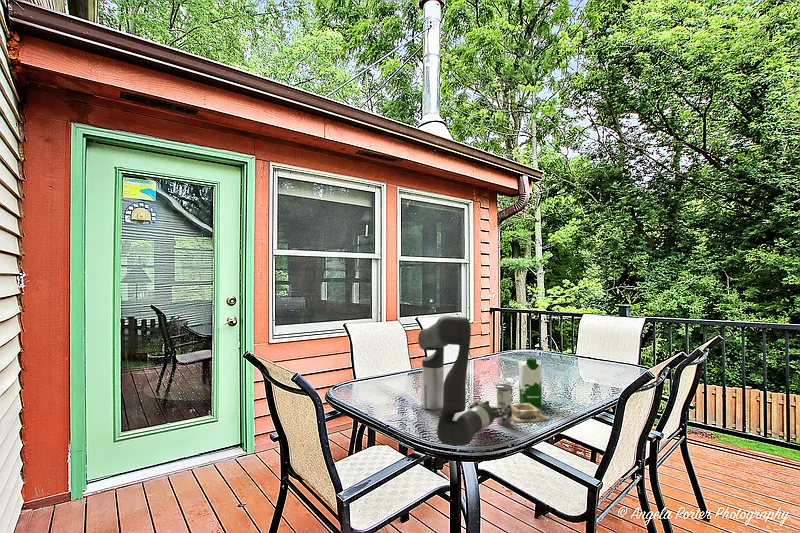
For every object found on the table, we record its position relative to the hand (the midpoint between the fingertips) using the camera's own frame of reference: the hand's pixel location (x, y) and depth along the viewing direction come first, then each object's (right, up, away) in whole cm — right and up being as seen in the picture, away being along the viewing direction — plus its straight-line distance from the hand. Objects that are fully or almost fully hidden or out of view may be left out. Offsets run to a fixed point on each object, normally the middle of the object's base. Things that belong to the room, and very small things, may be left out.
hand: (498, 405), depth 152 cm
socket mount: (+13, -8, +12) cm, 19 cm away
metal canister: (+3, -8, +3) cm, 9 cm away
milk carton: (+20, -8, +26) cm, 34 cm away
